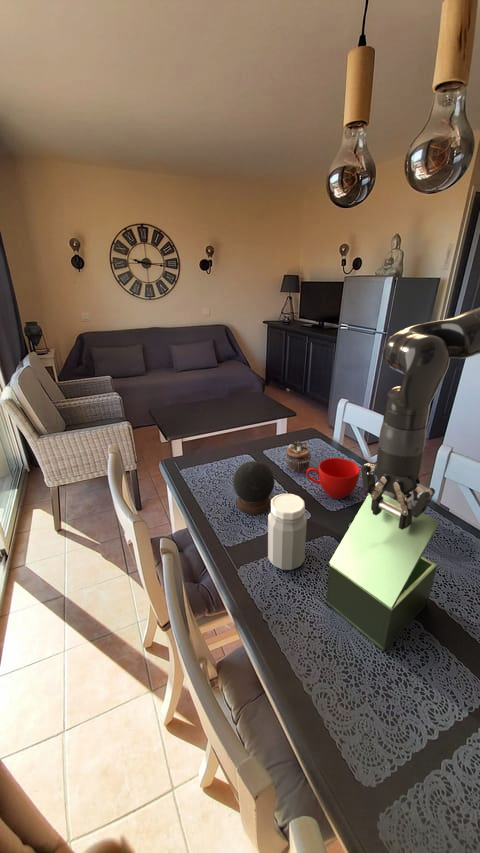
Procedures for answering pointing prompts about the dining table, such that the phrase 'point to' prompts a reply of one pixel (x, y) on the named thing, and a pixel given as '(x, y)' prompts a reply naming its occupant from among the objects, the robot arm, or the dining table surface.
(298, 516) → the jar
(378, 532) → the green lid with handle
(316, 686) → the dining table surface
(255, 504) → the dark sphere on stand
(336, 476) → the ceramic cup
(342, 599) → the bin
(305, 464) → the cupcake
